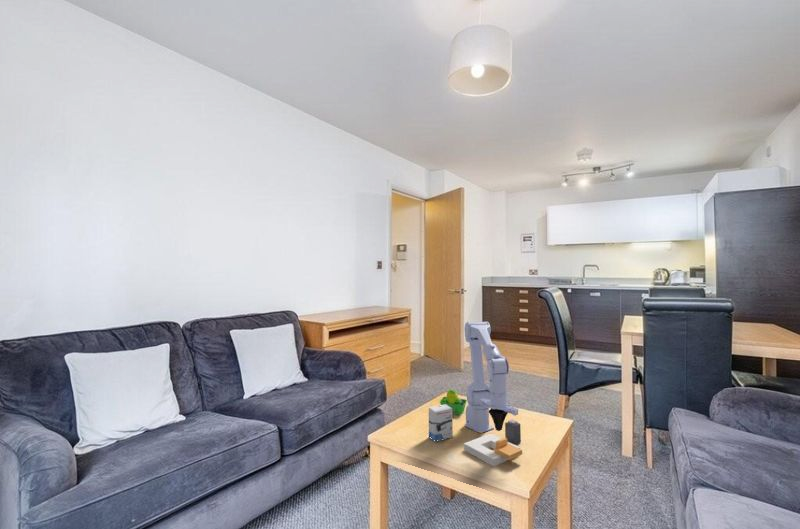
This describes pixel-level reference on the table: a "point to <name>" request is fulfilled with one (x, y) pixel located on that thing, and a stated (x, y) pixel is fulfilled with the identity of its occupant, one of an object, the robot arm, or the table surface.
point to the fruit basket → (454, 402)
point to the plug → (513, 432)
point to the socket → (485, 449)
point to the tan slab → (507, 449)
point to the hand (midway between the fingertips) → (498, 429)
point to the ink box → (440, 422)
